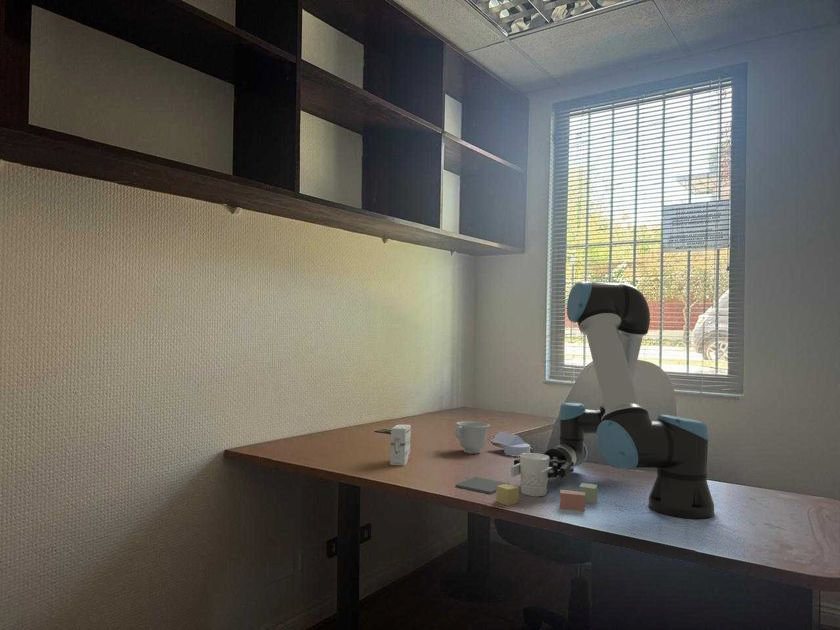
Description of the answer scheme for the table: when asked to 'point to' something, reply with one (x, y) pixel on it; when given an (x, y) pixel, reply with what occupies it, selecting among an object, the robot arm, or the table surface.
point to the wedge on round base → (511, 443)
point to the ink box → (400, 444)
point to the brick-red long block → (572, 500)
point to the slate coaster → (480, 485)
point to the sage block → (589, 492)
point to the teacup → (471, 435)
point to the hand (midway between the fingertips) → (526, 474)
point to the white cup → (533, 473)
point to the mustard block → (507, 494)
